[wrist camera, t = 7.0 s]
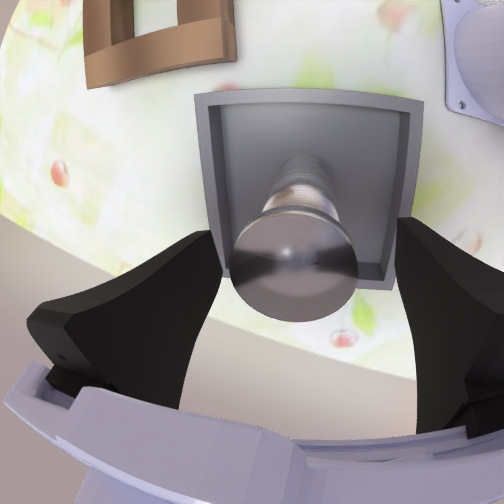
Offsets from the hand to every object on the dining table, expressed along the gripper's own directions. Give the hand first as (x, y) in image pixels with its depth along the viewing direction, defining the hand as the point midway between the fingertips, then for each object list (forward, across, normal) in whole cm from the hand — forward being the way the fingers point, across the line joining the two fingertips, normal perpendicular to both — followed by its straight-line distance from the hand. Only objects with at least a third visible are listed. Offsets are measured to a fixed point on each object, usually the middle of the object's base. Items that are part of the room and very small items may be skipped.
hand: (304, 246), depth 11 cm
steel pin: (+7, 0, 0) cm, 7 cm away
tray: (+7, 0, 0) cm, 7 cm away
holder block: (+7, +7, -13) cm, 16 cm away
